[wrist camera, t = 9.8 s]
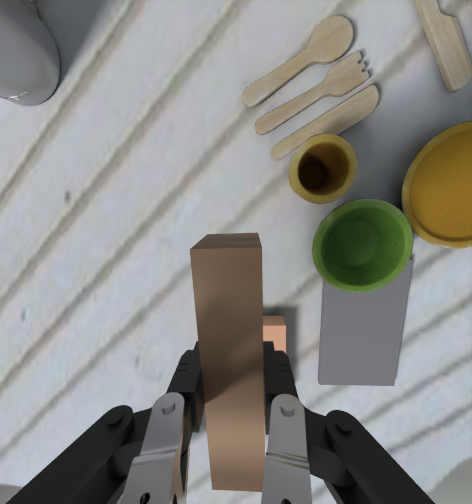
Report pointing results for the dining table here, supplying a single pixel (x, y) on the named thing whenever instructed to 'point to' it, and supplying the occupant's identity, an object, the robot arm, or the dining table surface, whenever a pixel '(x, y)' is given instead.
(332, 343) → the rubber mat
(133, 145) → the dining table surface
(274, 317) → the terracotta tile
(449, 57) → the tableware set
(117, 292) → the dining table surface
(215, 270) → the walnut stick
